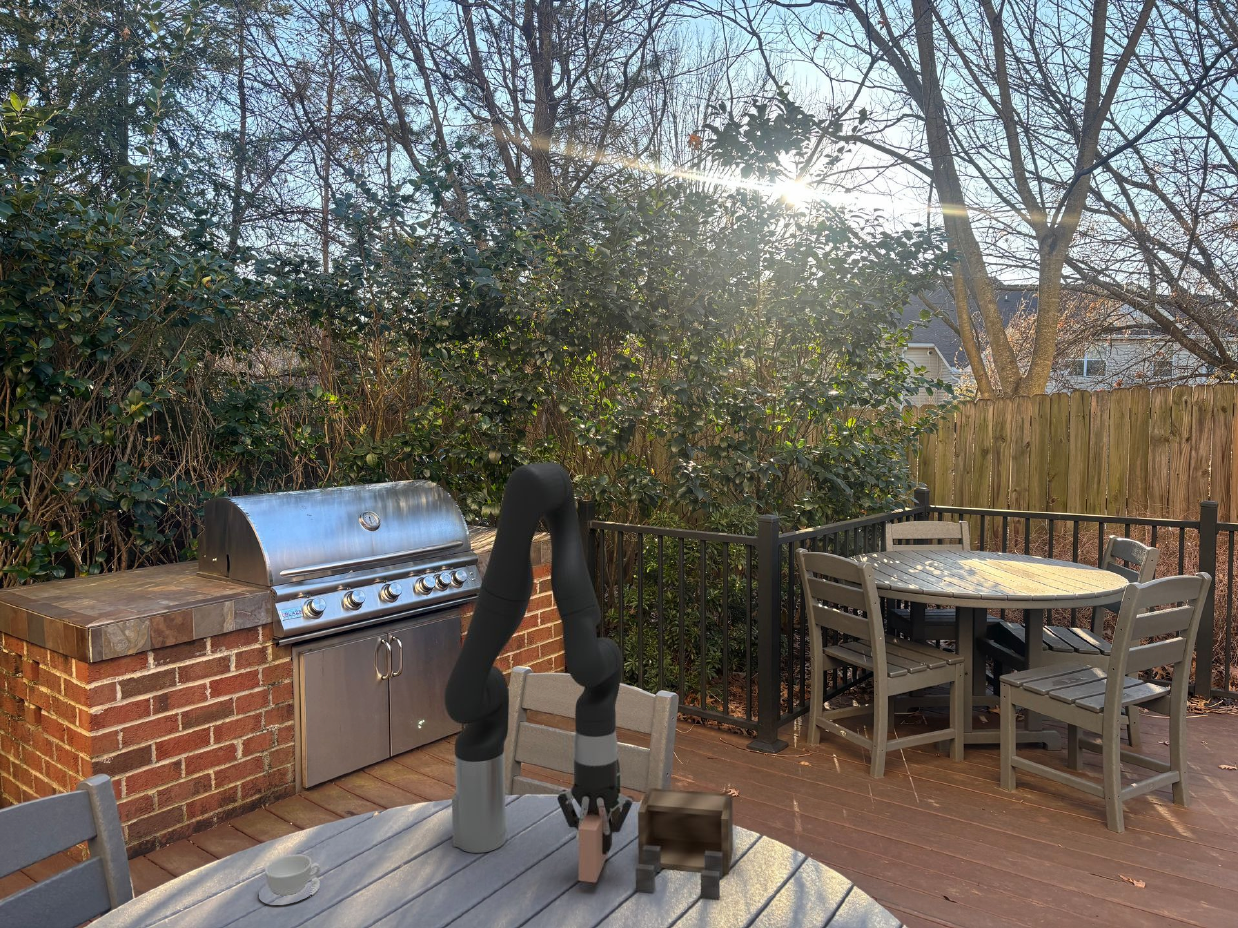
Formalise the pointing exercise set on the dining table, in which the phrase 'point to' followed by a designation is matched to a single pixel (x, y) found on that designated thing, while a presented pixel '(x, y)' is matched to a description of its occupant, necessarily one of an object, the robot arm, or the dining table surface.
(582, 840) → the door
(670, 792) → the cabinet
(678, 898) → the dining table surface
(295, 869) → the teacup
